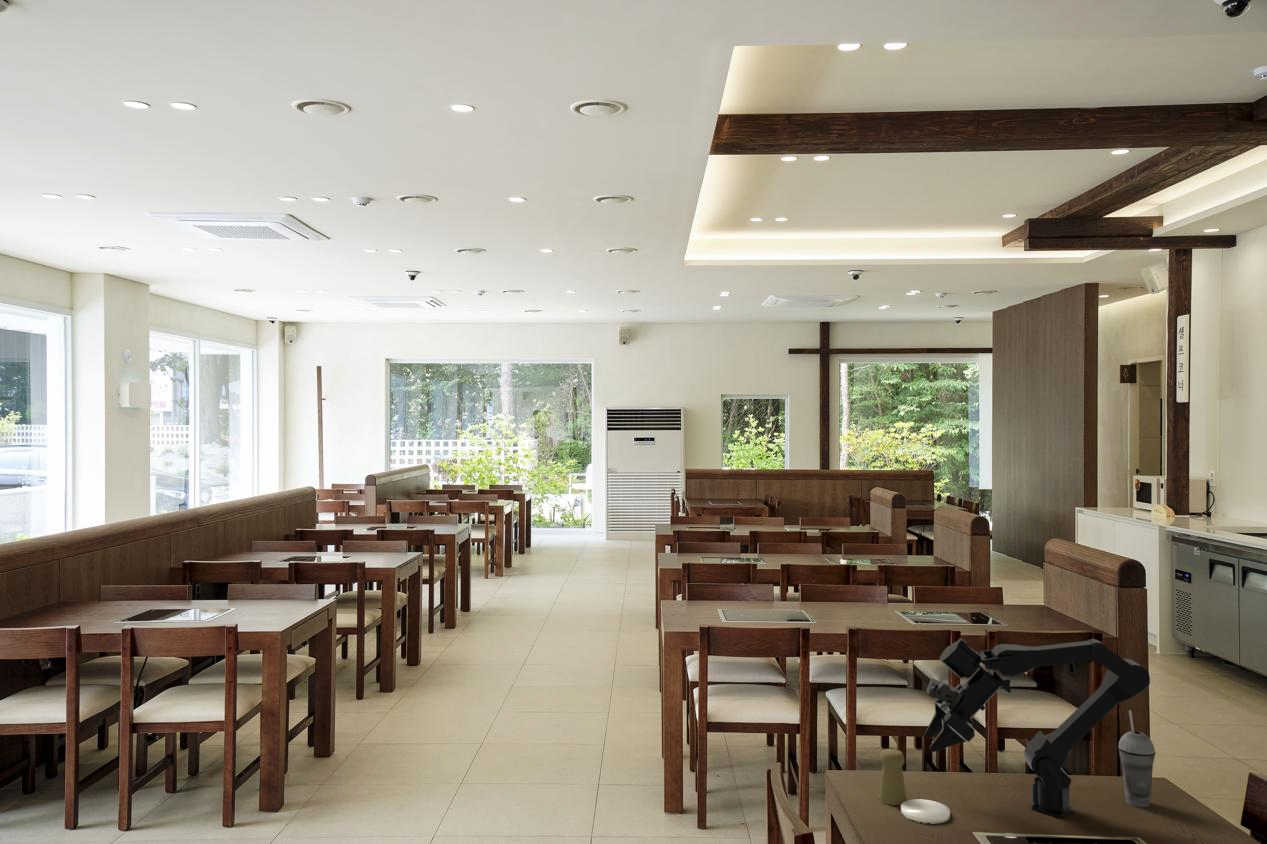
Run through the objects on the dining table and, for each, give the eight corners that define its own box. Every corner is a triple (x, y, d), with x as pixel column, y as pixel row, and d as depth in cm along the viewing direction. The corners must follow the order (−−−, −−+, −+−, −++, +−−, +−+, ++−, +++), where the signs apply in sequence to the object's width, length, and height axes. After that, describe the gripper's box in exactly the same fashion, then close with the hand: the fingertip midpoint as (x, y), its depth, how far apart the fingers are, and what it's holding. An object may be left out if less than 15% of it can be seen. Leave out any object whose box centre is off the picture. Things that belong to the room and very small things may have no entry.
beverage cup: (1149, 812, 195) (1147, 718, 195) (1113, 802, 200) (1111, 711, 201) (1162, 803, 200) (1159, 711, 200) (1126, 794, 205) (1124, 704, 206)
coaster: (959, 815, 194) (959, 809, 195) (932, 827, 188) (932, 822, 188) (919, 801, 202) (918, 795, 202) (891, 812, 196) (891, 807, 196)
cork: (910, 805, 200) (909, 755, 200) (882, 805, 200) (881, 755, 200) (902, 795, 206) (902, 746, 206) (876, 795, 206) (875, 746, 206)
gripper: (941, 657, 211) (895, 706, 212) (953, 677, 192) (903, 731, 194) (979, 690, 209) (933, 739, 211) (996, 714, 191) (945, 768, 192)
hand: (928, 743), depth 202 cm, fingers open, 9 cm apart
